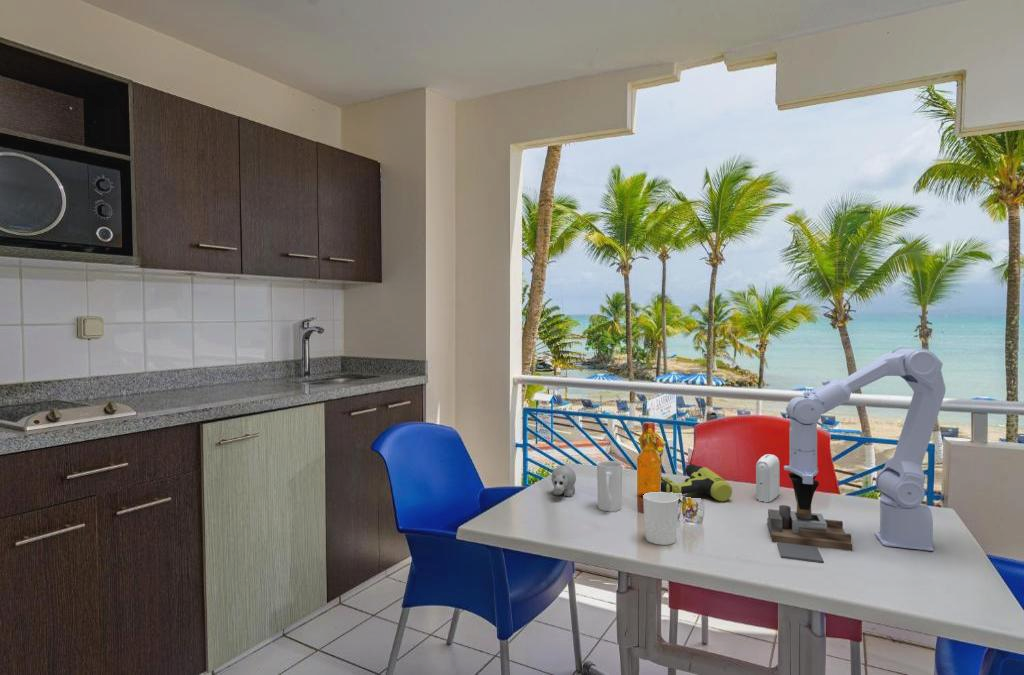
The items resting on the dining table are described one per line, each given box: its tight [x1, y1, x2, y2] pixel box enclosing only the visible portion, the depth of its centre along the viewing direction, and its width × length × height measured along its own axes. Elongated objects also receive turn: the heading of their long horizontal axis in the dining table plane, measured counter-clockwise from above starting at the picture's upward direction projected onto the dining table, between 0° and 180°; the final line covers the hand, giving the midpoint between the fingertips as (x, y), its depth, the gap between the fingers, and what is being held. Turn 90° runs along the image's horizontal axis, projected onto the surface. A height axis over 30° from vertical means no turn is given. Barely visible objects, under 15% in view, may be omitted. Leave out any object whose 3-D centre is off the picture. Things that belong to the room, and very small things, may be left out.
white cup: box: [642, 492, 679, 546], centre depth 128 cm, size 8×8×10 cm
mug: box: [596, 460, 623, 512], centre depth 150 cm, size 10×7×12 cm, turn 164°
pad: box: [776, 542, 824, 564], centre depth 120 cm, size 8×8×1 cm
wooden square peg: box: [795, 495, 812, 521], centre depth 130 cm, size 3×3×9 cm
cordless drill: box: [660, 463, 733, 502], centre depth 166 cm, size 7×25×25 cm
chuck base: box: [766, 504, 853, 552], centre depth 130 cm, size 16×12×6 cm
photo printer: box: [755, 453, 780, 503], centre depth 159 cm, size 10×4×12 cm, turn 138°
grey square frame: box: [790, 510, 827, 534], centre depth 130 cm, size 7×7×3 cm
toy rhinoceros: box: [550, 465, 577, 498], centre depth 161 cm, size 7×12×8 cm, turn 161°
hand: (803, 506), depth 130 cm, fingers closed on wooden square peg, 3 cm apart
